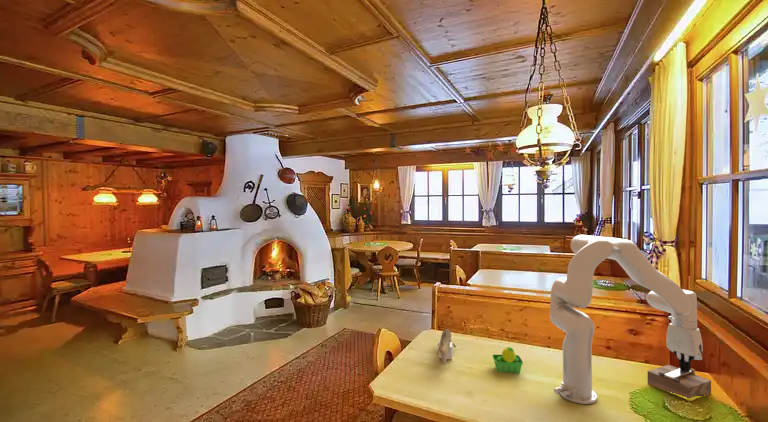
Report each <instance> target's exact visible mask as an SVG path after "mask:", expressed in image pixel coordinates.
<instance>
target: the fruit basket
mask: <svg viewBox="0 0 768 422" xmlns="http://www.w3.org/2000/svg"><path fill="white" fill-rule="evenodd" d="M492 358H493V362H494V365H495V369H496V371H497V373H506V374H509V373H511V374H514V373H515V374H520V372H521V370H522V366H523V363H524V362H523V360H522V359H521V356H519V355H518V354H516V353H515V351H514V349H513V347H511V346H508V347H506V348H504V349H503V350H502V353H501V354H492Z"/></svg>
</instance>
